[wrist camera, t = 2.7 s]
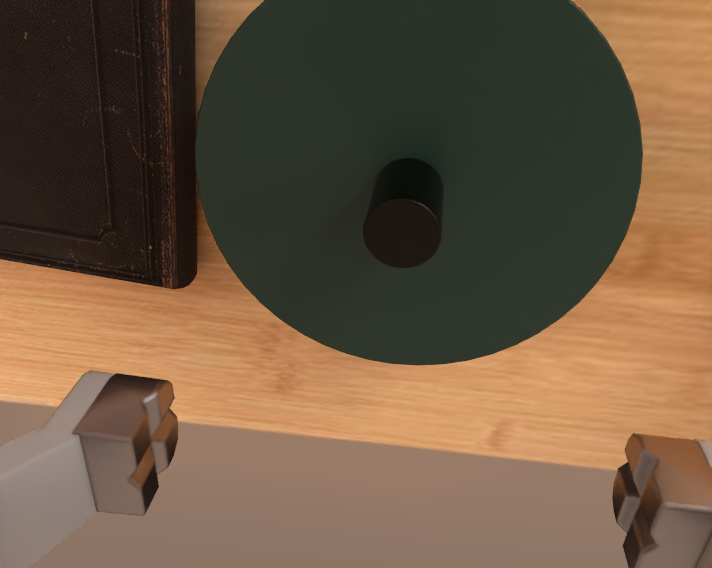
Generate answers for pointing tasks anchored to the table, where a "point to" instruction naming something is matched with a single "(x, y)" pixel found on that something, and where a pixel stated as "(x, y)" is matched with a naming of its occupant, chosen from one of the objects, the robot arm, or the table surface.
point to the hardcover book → (99, 138)
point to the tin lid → (418, 169)
